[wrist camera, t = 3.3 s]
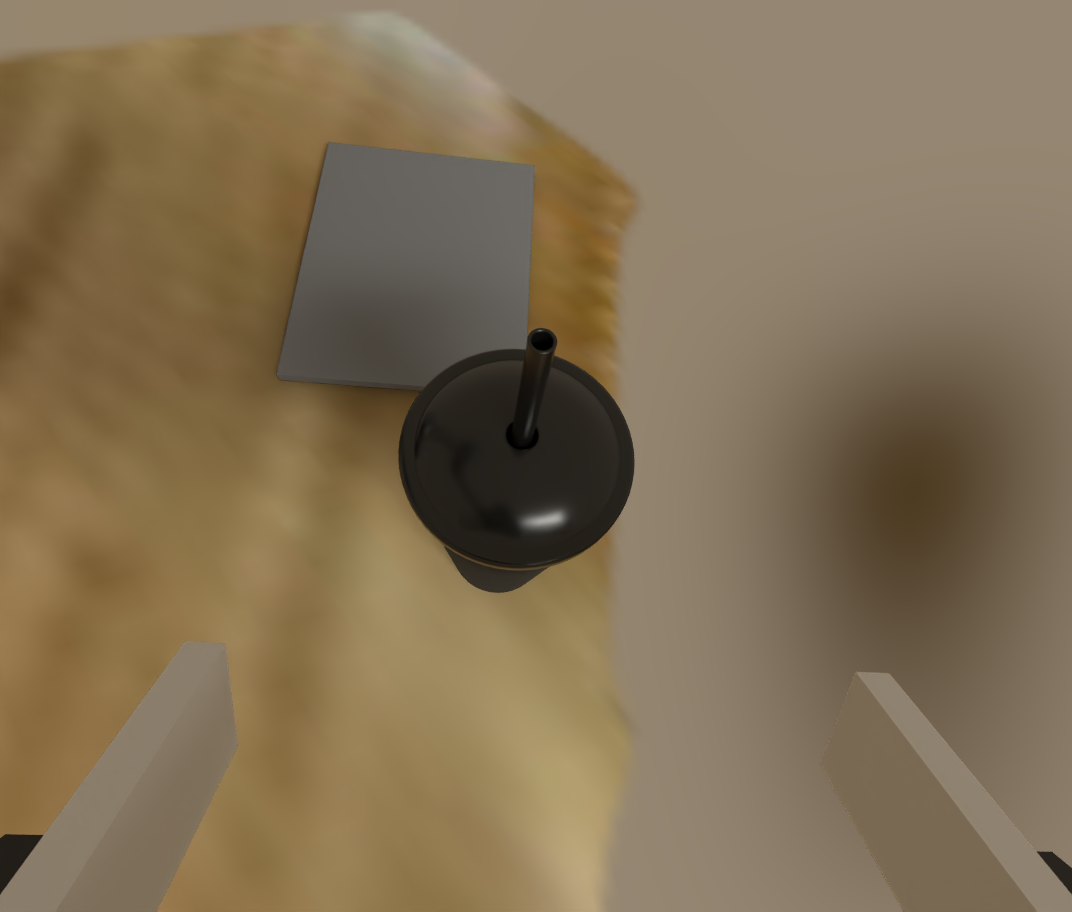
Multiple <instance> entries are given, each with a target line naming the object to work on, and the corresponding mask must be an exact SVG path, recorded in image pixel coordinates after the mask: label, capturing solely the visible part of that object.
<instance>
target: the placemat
mask: <svg viewBox="0 0 1072 912" xmlns="http://www.w3.org/2000/svg"><path fill="white" fill-rule="evenodd" d="M534 170H535V166H533V165H525V164H516V163H507V162H498V161H490V160H481V159H472V158H463V157H454V156H446V155H437V154H428V153H419V152H410V151H402V150H393V149H384V148H375V147H366V146H358V145H349V144H340V143H331V142H329V144H328V148H327V153H326V157H325V161H324V166H323V170H322V175H321V179H320V184H319V188H318V192H317V197H316V201H315V206H314V210H313V215H312V219H311V223H310V228H309V232H308V237H307V241H306V245H305V250H304V254H303V259H302V263H301V268H300V272H299V276H298V281H297V285H296V290H295V294H294V298H293V303H292V307H291V312H290V316H289V321H288V325H287V329H286V334H285V338H284V343H283V347H282V352H281V356H280V360H279V365H278V369H277V374H276V375H277V377H278V378H279V380H288V381H301V382H313V383H326V384H339V385H351V386H364V387H377V388H389V389H402V390H414V391H422V390H423V389H424V388H425V386H426V385H427V384H428V383H429V382H430V381H431V380H432V379H433V378H435V377H436V376H437V375H438V374H439V373H441V372H442V371H443V370H445V369H446V368H448V367H449V366H451V365H453V364H454V363H456V362H458V361H460V360H462V359H465V358H467V357H470V356H472V355H475V354H479V353H482V352H487V351H492V350H500V349H526V344H527V328H528V305H529V283H530V260H531V238H532V215H533V193H534Z"/></svg>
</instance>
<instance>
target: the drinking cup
mask: <svg viewBox="0 0 1072 912" xmlns="http://www.w3.org/2000/svg"><path fill="white" fill-rule="evenodd" d="M556 346H557V338H556V336H555V334H554V333H553V332H551V331H550V330H548V329H545V328H538V329H535V330H533V331H531V332H530V334H529V335H528V338H527V344H526V349H500V350H492V351H487V352H482V353H479V354H475V355H472V356H470V357H467V358H465V359H462V360H460V361H458V362H456V363H454V364H453V365H451V366H449V367H448V368H446V369H445V370H443V371H442V372H441V373H439V374H438V375H437V376H436V377H435V378H433V379H432V380H431V381H430V382H429V383H428V384H427V385H426V386H425V388H424V389H423V390H422V391H421V392H420V393H419V395H418V396H417V398H416V399H415V401H414V402H413V404H412V406H411V407H410V409H409V411H408V414H407V416H406V418H405V421H404V424H403V427H402V431H401V435H400V441H399V452H398V453H399V469H400V476H401V480H402V484H403V488H404V490H405V493H406V496H407V499H408V501H409V503H410V505H411V507H412V509H413V511H414V512H415V514H416V516H417V517H418V519H419V520H420V521H421V523H422V524H423V525H424V527H425V528H426V529H427V530H428V531H429V532H430V533H431V534H432V535H433V536H434V537H435V538H436V539H437V540H438V541H439V542H441V543H442V544H443V545H444V547H445V548H446V550H447V552H448V553H449V555H450V557H451V558H452V560H453V562H454V564H455V565H456V567H457V569H458V570H459V572H460V573H461V575H462V576H463V577H464V578H465V579H466V580H467V581H468V582H469V583H470V584H472V585H473V586H475V587H477V588H479V589H481V590H484V591H488V592H495V593H501V592H508V591H512V590H514V589H517V588H519V587H521V586H522V585H524V584H526V583H527V582H528V581H530V580H531V579H533V578H534V577H535V576H537V575H538V574H540V573H541V572H542V571H544V570H545V569H547V568H548V567H550V566H554V565H557V564H560V563H562V562H565V561H568V560H570V559H572V558H574V557H576V556H578V555H579V554H581V553H583V552H584V551H586V550H587V549H589V548H590V547H591V546H593V545H594V544H595V543H596V542H598V541H599V540H600V539H601V538H602V537H603V536H604V535H605V534H606V533H607V532H608V530H609V529H610V528H611V527H612V525H613V524H614V523H615V521H616V520H617V518H618V517H619V515H620V514H621V512H622V510H623V508H624V506H625V504H626V502H627V499H628V496H629V494H630V490H631V486H632V481H633V476H634V449H633V443H632V438H631V434H630V431H629V428H628V425H627V423H626V420H625V418H624V416H623V414H622V412H621V410H620V408H619V407H618V405H617V404H616V402H615V400H614V399H613V398H612V397H611V395H610V394H609V393H608V392H607V390H606V389H605V388H604V387H603V386H602V385H601V384H600V383H599V382H598V381H597V380H596V379H594V378H593V377H592V376H591V375H589V374H588V373H587V372H585V371H584V370H582V369H581V368H579V367H578V366H576V365H574V364H572V363H570V362H568V361H566V360H564V359H562V358H559V357H557V356H554V354H555V350H556Z"/></svg>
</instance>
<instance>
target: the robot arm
mask: <svg viewBox="0 0 1072 912" xmlns="http://www.w3.org/2000/svg"><path fill="white" fill-rule="evenodd" d="M237 747H238V742H237V734H236V725H235V717H234V709H233V701H232V692H231V684H230V676H229V667H228V659H227V651H226V643H207V642H184V644H183V645H182V646H181V648H180V649H179V651H178V652H177V653H176V655H175V656H174V657H173V659H172V660H171V662H170V663H169V664H168V666H167V667H166V668H165V670H164V671H163V672H162V674H161V675H160V677H159V678H158V679H157V681H156V682H155V683H154V685H153V686H152V688H151V689H150V690H149V692H148V693H147V694H146V696H145V697H144V699H143V700H142V701H141V703H140V704H139V705H138V707H137V708H136V709H135V711H134V712H133V714H132V715H131V716H130V718H129V719H128V720H127V722H126V723H125V725H124V726H123V727H122V729H121V730H120V731H119V733H118V734H117V736H116V737H115V738H114V740H113V741H112V742H111V744H110V745H109V746H108V748H107V749H106V751H105V752H104V753H103V755H102V756H101V757H100V759H99V760H98V762H97V763H96V764H95V766H94V767H93V768H92V770H91V771H90V772H89V774H88V775H87V777H86V778H85V779H84V781H83V782H82V783H81V785H80V786H79V788H78V789H77V790H76V792H75V793H74V794H73V796H72V797H71V799H70V800H69V801H68V803H67V804H66V805H65V807H64V808H63V809H62V811H61V812H60V814H59V815H58V816H57V818H56V819H55V820H54V822H53V823H52V825H51V826H50V827H49V829H48V830H47V831H46V833H45V834H44V835H10V834H5V835H4V836H3V837H1V838H0V912H157V910H158V908H159V906H160V904H161V902H162V900H163V898H164V896H165V894H166V892H167V890H168V888H169V886H170V883H171V881H172V879H173V877H174V875H175V873H176V871H177V869H178V867H179V865H180V863H181V861H182V859H183V857H184V855H185V853H186V851H187V849H188V847H189V845H190V843H191V841H192V839H193V837H194V835H195V833H196V830H197V828H198V826H199V824H200V822H201V820H202V818H203V816H204V814H205V812H206V810H207V808H208V806H209V804H210V802H211V800H212V798H213V796H214V794H215V792H216V790H217V788H218V786H219V784H220V782H221V780H222V778H223V775H224V773H225V771H226V769H227V767H228V765H229V763H230V761H231V759H232V757H233V755H234V753H235V751H236V749H237ZM820 765H821V767H822V768H823V771H824V772H825V774H826V776H827V778H828V779H829V781H830V783H831V785H832V786H833V788H834V790H835V792H836V793H837V795H838V797H839V799H840V801H841V802H842V804H843V806H844V807H845V809H846V811H847V813H848V815H849V816H850V818H851V820H852V822H853V823H854V825H855V827H856V829H857V831H858V832H859V834H860V836H861V838H862V839H863V841H864V843H865V845H866V846H867V848H868V850H869V852H870V853H871V855H872V857H873V859H874V860H875V862H876V864H877V866H878V867H879V869H880V871H881V873H882V875H883V876H884V878H885V880H886V881H887V883H888V885H889V887H890V888H891V890H892V892H893V894H894V896H895V898H896V899H897V901H898V903H899V904H900V906H901V908H902V910H903V912H1072V868H1071V867H1070V866H1068V865H1067V864H1066V863H1065V862H1063V861H1062V860H1061V859H1060V858H1059V857H1057V856H1056V855H1055V854H1054V853H1053V852H1036V851H1035V849H1034V848H1033V847H1032V846H1031V845H1030V843H1029V842H1028V841H1027V840H1026V839H1025V837H1024V836H1023V835H1022V834H1021V832H1020V831H1019V830H1018V829H1017V828H1016V826H1015V825H1014V824H1013V823H1012V822H1011V820H1010V819H1009V818H1008V817H1007V816H1006V814H1005V813H1004V812H1003V811H1002V810H1001V808H1000V807H999V806H998V805H997V803H996V802H995V801H994V800H993V799H992V797H991V796H990V795H989V794H988V793H987V791H986V790H985V789H984V788H983V786H982V785H981V784H980V783H979V782H978V780H977V779H976V778H975V777H974V776H973V774H972V773H971V772H970V771H969V770H968V768H967V767H966V766H965V765H964V763H963V762H962V761H961V760H960V759H959V758H958V756H957V755H956V754H955V753H954V751H953V750H952V749H951V748H950V746H949V745H948V744H947V743H946V742H945V740H944V739H943V738H942V737H941V736H940V734H939V733H938V732H937V731H936V730H935V728H934V727H933V726H932V725H931V724H930V722H929V721H928V720H927V719H926V718H925V716H924V715H923V714H922V713H921V711H920V710H919V709H918V708H917V707H916V705H915V704H914V703H913V702H912V701H911V699H910V698H909V697H908V696H907V694H906V693H905V692H904V691H903V690H902V688H901V687H900V686H899V685H898V684H897V682H896V681H895V680H894V679H893V678H892V676H891V675H890V674H889V673H870V672H855V675H854V678H853V680H852V683H851V685H850V688H849V690H848V693H847V695H846V698H845V701H844V703H843V706H842V708H841V711H840V713H839V716H838V719H837V721H836V724H835V726H834V729H833V731H832V734H831V737H830V739H829V742H828V744H827V747H826V750H825V752H824V755H823V757H822V760H821V763H820Z"/></svg>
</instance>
